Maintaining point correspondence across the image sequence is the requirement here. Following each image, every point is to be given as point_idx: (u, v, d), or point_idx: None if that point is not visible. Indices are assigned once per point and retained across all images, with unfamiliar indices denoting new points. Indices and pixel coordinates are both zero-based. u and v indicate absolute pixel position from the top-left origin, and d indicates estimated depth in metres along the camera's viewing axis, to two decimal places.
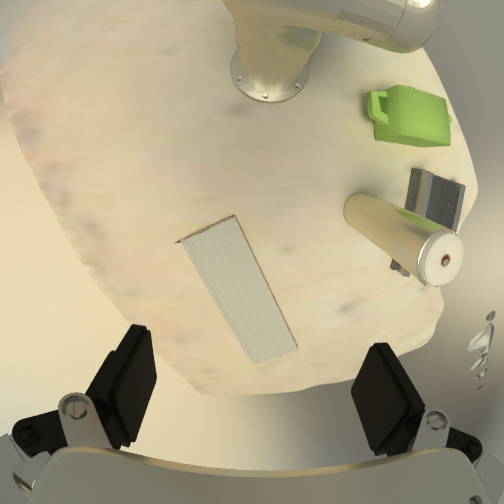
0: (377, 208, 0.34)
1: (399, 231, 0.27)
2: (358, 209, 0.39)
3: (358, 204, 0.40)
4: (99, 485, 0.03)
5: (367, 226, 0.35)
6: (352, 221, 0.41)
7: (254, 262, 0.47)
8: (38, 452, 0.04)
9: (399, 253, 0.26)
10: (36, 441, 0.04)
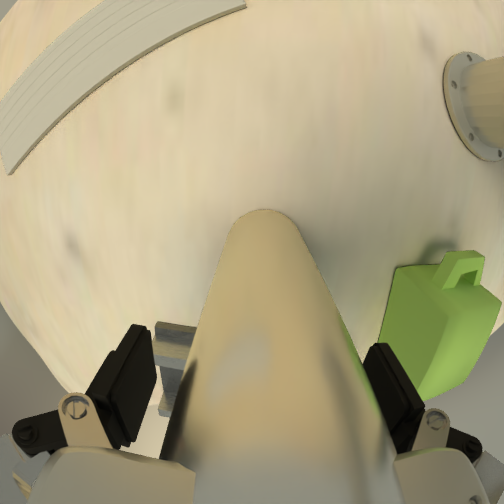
0: (322, 280, 0.12)
1: (352, 411, 0.05)
2: (288, 233, 0.17)
3: (295, 234, 0.18)
4: (99, 485, 0.03)
5: (265, 256, 0.12)
6: (250, 224, 0.18)
7: (150, 43, 0.16)
8: (38, 452, 0.04)
9: (245, 457, 0.04)
10: (36, 441, 0.04)
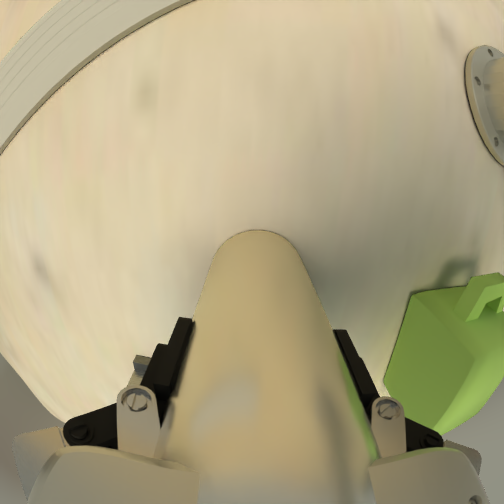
0: (338, 352, 0.08)
1: None
2: (288, 270, 0.12)
3: (297, 268, 0.14)
4: (99, 485, 0.03)
5: (256, 322, 0.08)
6: (238, 254, 0.14)
7: (119, 30, 0.12)
8: None
9: None
10: (93, 439, 0.05)
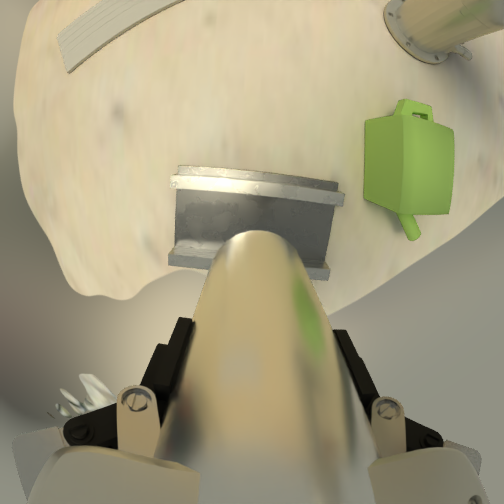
0: (338, 353, 0.08)
1: None
2: (288, 270, 0.12)
3: (297, 268, 0.13)
4: (99, 485, 0.03)
5: (256, 323, 0.08)
6: (238, 255, 0.14)
7: None
8: None
9: None
10: (93, 439, 0.05)
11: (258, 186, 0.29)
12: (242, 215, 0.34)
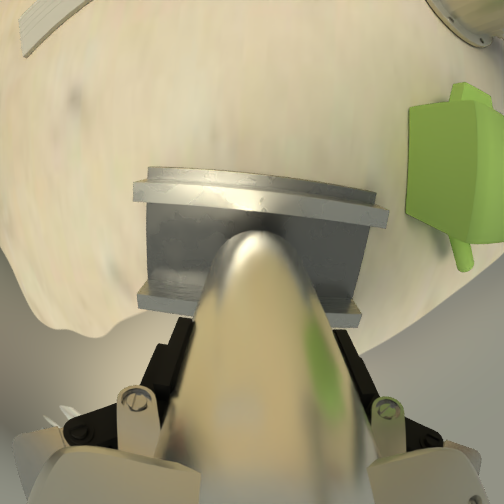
0: (338, 353, 0.08)
1: None
2: (288, 270, 0.12)
3: (297, 269, 0.13)
4: (99, 485, 0.03)
5: (256, 323, 0.08)
6: (238, 255, 0.14)
7: None
8: None
9: None
10: (93, 439, 0.05)
11: (265, 198, 0.19)
12: None
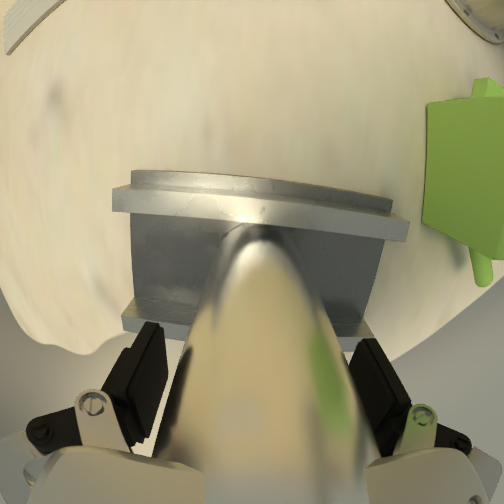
0: (330, 328, 0.09)
1: None
2: (286, 257, 0.14)
3: (294, 256, 0.15)
4: (99, 485, 0.03)
5: (257, 299, 0.09)
6: (240, 244, 0.15)
7: None
8: (53, 450, 0.04)
9: None
10: (52, 439, 0.04)
11: (266, 208, 0.16)
12: None
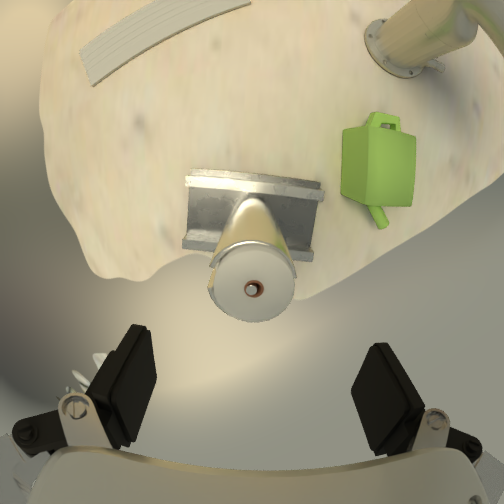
0: (273, 216, 0.31)
1: (268, 226, 0.23)
2: (262, 201, 0.35)
3: (266, 203, 0.36)
4: (99, 485, 0.03)
5: (250, 205, 0.31)
6: (244, 198, 0.37)
7: (201, 18, 0.31)
8: (38, 452, 0.04)
9: (242, 227, 0.22)
10: (36, 441, 0.04)
11: (255, 185, 0.37)
12: None
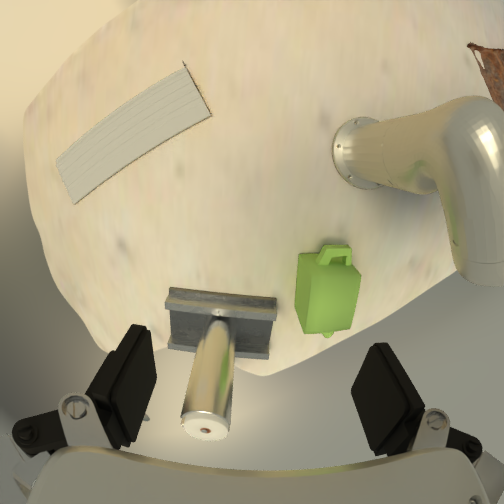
0: (229, 352, 0.40)
1: (217, 385, 0.32)
2: (224, 330, 0.44)
3: (228, 328, 0.45)
4: (99, 485, 0.03)
5: (211, 345, 0.40)
6: (211, 323, 0.46)
7: (162, 139, 0.40)
8: (38, 452, 0.04)
9: (199, 388, 0.31)
10: (36, 441, 0.04)
11: (219, 311, 0.47)
12: None
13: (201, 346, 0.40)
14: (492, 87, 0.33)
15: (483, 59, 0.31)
